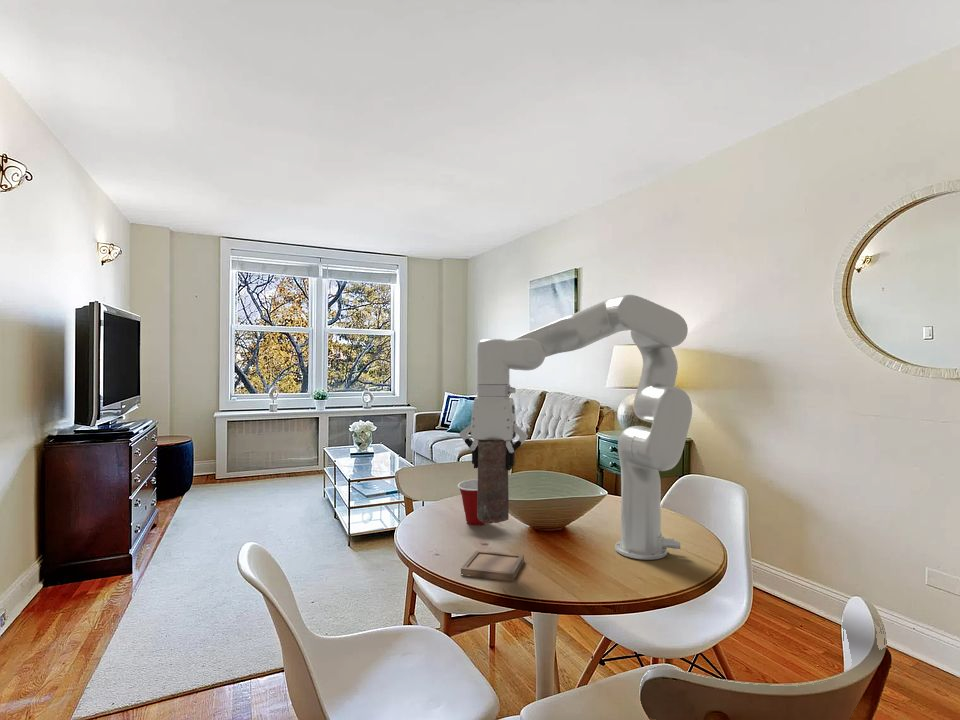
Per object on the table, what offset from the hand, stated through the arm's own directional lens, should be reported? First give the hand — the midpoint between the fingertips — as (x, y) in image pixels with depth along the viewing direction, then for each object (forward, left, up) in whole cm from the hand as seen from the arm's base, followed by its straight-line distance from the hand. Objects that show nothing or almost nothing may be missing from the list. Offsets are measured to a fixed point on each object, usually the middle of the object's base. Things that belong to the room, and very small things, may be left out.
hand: (493, 467), depth 124 cm
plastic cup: (+14, -32, -24) cm, 42 cm away
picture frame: (0, 0, -23) cm, 23 cm away
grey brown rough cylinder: (0, 0, -13) cm, 13 cm away
